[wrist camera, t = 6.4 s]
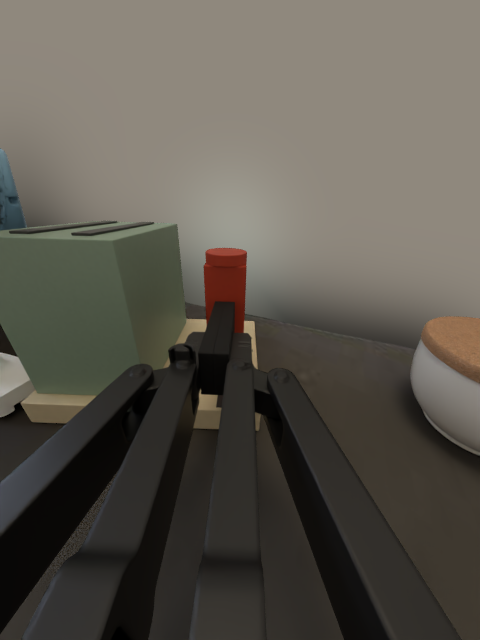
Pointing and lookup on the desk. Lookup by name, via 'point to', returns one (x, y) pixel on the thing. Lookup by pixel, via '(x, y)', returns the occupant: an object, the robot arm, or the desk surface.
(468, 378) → the trinket box
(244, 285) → the slider
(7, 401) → the joystick
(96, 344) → the toaster
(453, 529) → the desk surface
